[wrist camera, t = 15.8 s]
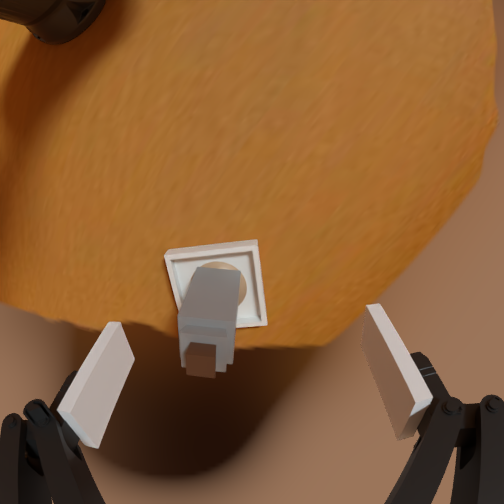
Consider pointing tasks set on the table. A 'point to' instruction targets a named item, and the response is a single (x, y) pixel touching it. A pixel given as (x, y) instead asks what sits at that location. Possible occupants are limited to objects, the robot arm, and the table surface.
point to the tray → (223, 257)
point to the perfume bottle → (209, 321)
